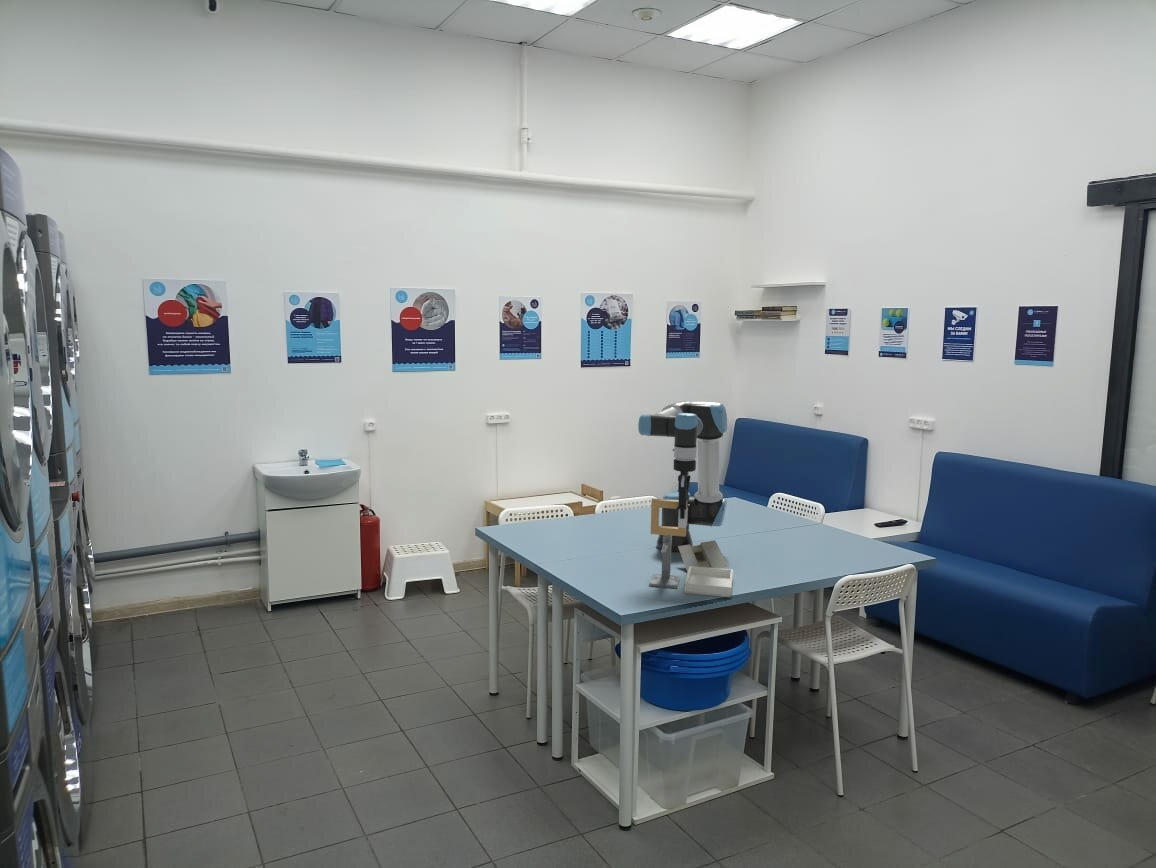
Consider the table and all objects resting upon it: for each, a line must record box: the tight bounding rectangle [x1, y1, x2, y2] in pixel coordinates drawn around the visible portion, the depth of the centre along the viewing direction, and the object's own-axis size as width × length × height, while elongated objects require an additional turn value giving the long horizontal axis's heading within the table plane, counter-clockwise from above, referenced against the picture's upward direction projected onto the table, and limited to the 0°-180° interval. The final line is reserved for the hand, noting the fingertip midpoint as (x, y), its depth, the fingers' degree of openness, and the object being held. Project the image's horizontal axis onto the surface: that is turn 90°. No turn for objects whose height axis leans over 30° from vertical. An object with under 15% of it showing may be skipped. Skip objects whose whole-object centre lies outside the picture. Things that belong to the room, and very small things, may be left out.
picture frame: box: [650, 498, 687, 536], centre depth 280 cm, size 2×12×12 cm, turn 77°
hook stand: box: [648, 535, 681, 589], centre depth 292 cm, size 16×10×17 cm, turn 168°
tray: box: [684, 566, 734, 598], centre depth 291 cm, size 22×16×4 cm
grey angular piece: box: [678, 540, 729, 574], centre depth 315 cm, size 16×9×15 cm
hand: (682, 526), depth 279 cm, fingers closed on picture frame, 2 cm apart
